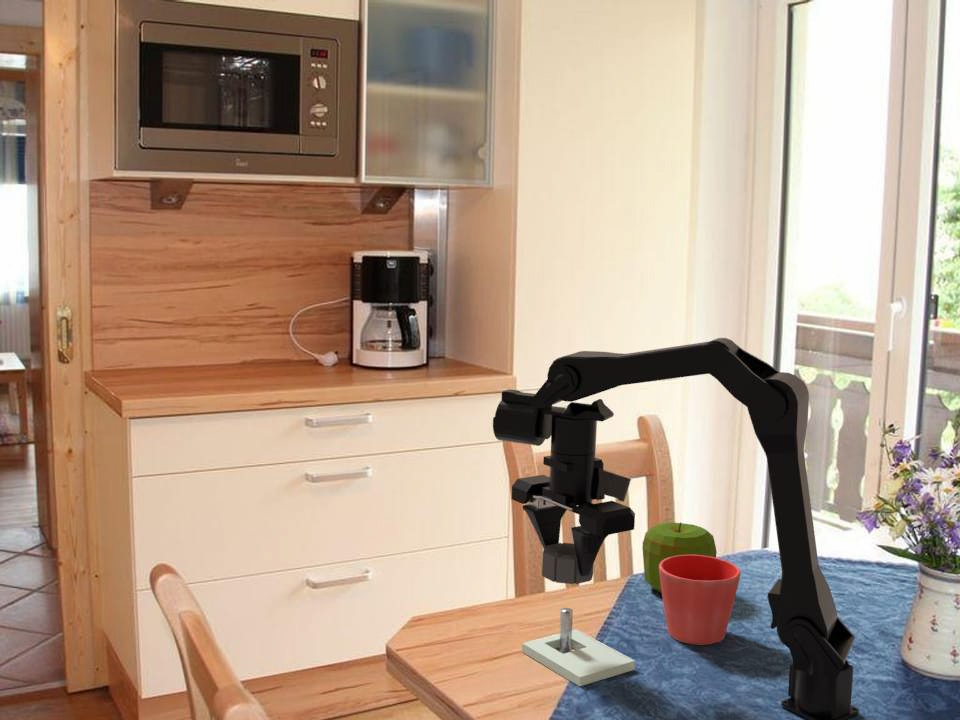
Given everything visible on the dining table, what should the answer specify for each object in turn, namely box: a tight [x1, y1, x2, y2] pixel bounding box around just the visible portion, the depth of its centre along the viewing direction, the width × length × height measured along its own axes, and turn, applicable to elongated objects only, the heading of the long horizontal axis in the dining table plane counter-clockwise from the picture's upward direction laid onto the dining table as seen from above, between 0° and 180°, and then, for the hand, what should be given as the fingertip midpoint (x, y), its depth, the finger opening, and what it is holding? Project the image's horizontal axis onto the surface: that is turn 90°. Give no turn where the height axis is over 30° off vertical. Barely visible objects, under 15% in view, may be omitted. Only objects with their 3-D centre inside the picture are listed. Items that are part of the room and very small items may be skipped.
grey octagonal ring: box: [541, 542, 595, 585], centre depth 138 cm, size 6×6×3 cm
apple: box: [641, 521, 718, 594], centre depth 163 cm, size 11×11×11 cm
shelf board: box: [521, 628, 636, 687], centre depth 138 cm, size 12×9×1 cm
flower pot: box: [659, 555, 741, 646], centre depth 146 cm, size 11×11×10 cm
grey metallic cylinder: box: [558, 607, 574, 654], centre depth 139 cm, size 2×2×6 cm
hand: (568, 567), depth 138 cm, fingers closed on grey octagonal ring, 6 cm apart
